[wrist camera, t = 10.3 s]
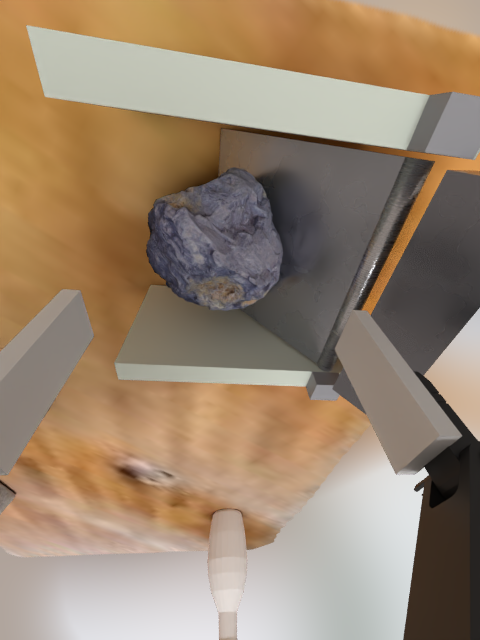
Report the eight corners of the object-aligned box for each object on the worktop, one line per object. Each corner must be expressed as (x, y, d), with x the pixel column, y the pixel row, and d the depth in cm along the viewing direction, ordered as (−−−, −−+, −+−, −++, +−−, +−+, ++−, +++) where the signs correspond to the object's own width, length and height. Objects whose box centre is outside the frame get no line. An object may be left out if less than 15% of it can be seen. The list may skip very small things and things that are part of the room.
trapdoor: (244, 278, 33) (200, 293, 29) (264, 134, 24) (205, 126, 20) (412, 379, 22) (380, 427, 18) (570, 181, 13) (580, 185, 9)
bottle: (215, 520, 84) (212, 645, 64) (204, 510, 78) (197, 645, 57) (248, 516, 83) (255, 642, 63) (240, 505, 76) (245, 641, 56)
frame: (152, 299, 31) (112, 393, 20) (128, 76, 19) (-1, 11, 8) (309, 310, 33) (350, 400, 22) (375, 116, 21) (534, 106, 10)
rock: (168, 209, 26) (95, 226, 17) (261, 154, 21) (225, 141, 13) (216, 301, 29) (176, 352, 21) (303, 270, 25) (297, 318, 17)
